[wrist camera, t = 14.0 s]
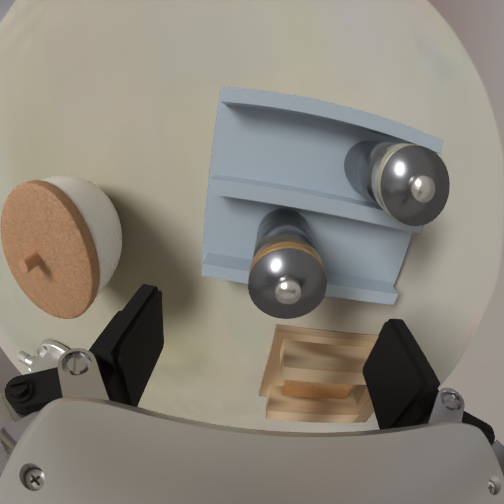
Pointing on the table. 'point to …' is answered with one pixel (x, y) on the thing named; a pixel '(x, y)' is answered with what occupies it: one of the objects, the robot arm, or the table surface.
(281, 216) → the cell
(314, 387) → the brown rectangular slab
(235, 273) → the trough board
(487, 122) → the table surface
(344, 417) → the cradle
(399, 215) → the cell
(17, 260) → the lidded jar
